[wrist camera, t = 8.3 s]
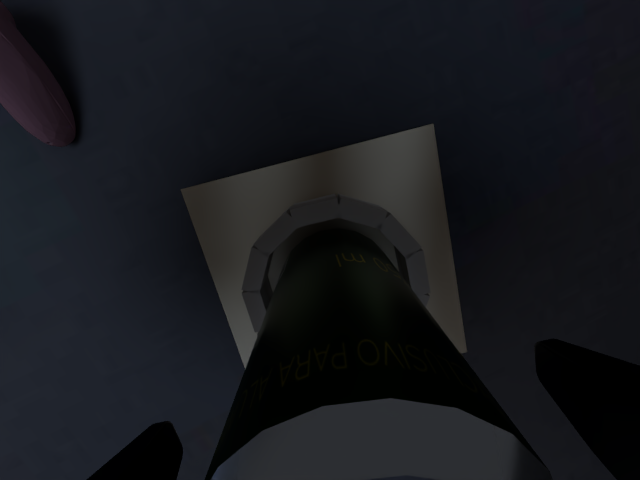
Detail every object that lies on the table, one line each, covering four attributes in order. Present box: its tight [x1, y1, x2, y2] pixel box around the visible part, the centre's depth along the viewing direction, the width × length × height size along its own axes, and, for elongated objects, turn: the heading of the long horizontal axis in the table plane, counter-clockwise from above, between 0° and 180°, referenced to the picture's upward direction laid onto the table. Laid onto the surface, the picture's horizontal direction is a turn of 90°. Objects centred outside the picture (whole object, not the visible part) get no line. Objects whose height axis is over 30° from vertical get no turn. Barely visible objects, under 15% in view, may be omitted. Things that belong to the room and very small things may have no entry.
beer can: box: [205, 228, 553, 480], centre depth 9 cm, size 5×5×12 cm
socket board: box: [180, 124, 467, 369], centre depth 15 cm, size 12×12×3 cm
